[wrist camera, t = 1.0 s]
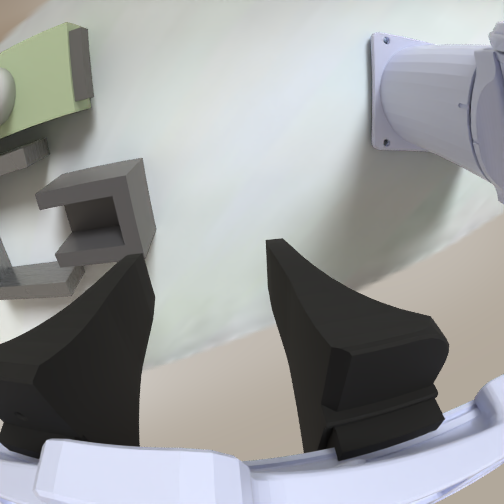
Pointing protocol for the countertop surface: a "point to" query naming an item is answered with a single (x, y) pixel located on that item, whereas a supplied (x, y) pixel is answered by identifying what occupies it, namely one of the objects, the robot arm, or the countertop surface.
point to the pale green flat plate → (45, 78)
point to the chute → (102, 212)
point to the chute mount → (37, 275)
